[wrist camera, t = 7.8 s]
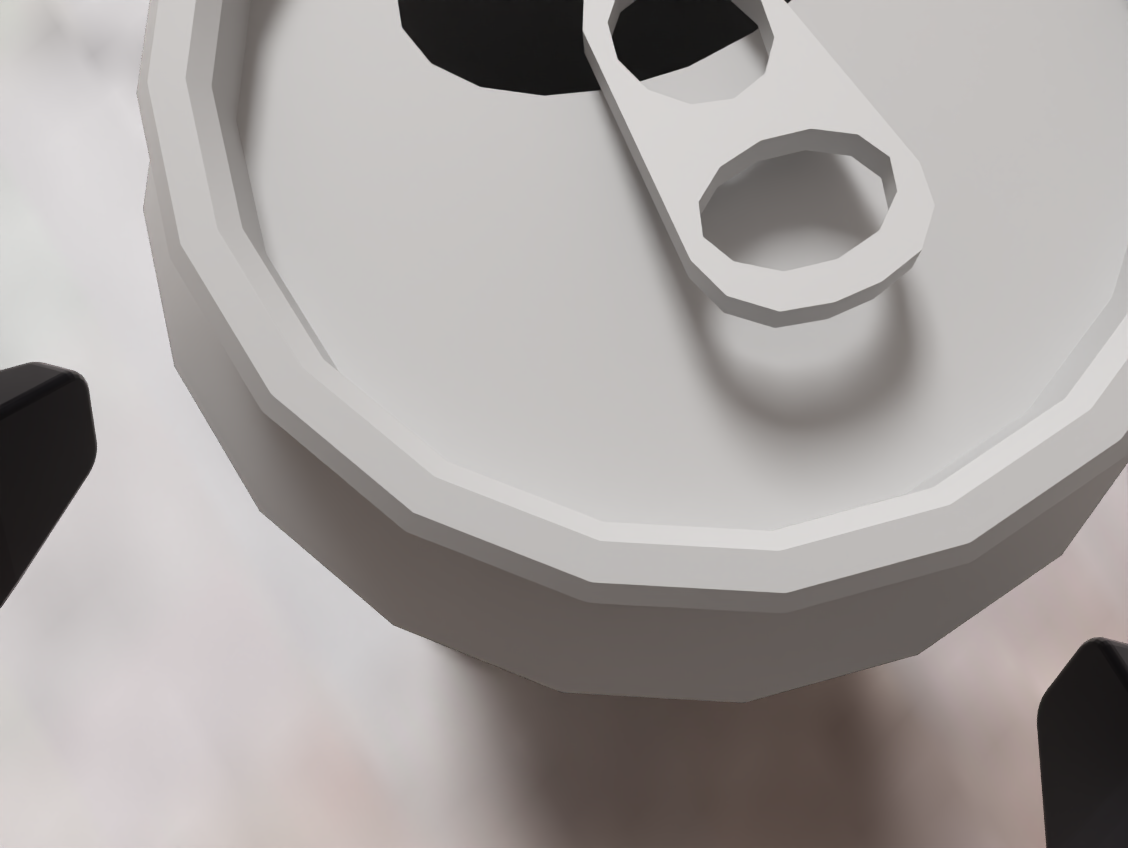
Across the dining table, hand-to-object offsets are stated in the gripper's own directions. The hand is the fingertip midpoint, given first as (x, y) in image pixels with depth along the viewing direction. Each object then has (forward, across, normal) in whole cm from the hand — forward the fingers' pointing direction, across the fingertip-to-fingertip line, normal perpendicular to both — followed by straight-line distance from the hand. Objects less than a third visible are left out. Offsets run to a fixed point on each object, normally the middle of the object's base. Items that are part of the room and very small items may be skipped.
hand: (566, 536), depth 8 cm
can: (+8, 0, +4) cm, 9 cm away
